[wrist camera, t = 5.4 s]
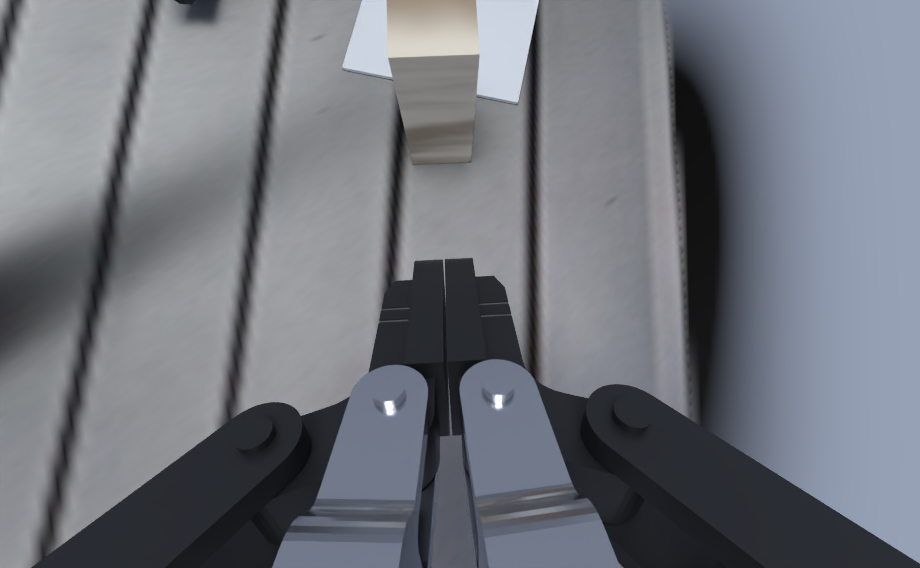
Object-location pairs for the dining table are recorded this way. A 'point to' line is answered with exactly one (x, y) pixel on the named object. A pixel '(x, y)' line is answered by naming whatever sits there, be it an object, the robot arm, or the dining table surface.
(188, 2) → the magazine
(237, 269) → the dining table surface
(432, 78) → the birch block
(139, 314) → the dining table surface
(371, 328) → the dining table surface
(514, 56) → the mat
